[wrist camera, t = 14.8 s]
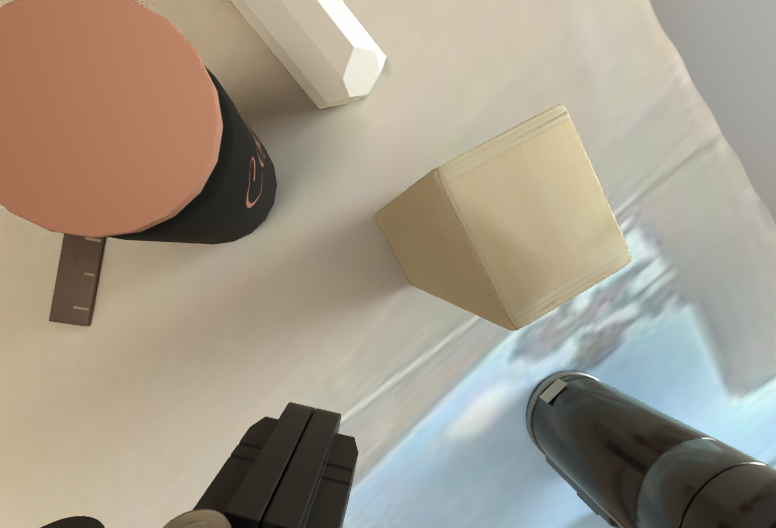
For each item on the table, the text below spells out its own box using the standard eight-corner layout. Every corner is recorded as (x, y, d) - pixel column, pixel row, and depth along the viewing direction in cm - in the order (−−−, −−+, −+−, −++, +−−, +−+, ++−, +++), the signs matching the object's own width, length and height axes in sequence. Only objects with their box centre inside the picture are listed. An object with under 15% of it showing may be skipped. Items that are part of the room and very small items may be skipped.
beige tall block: (475, 252, 38) (650, 254, 17) (411, 287, 37) (511, 336, 16) (439, 180, 37) (575, 89, 16) (373, 214, 36) (426, 166, 15)
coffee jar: (294, 224, 35) (251, 198, 17) (177, 259, 34) (1, 269, 16) (257, 112, 34) (172, -39, 16) (136, 142, 33) (-99, 15, 15)
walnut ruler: (89, 325, 33) (86, 326, 32) (52, 320, 33) (48, 321, 32) (119, 156, 33) (116, 155, 32) (82, 148, 32) (78, 147, 32)
